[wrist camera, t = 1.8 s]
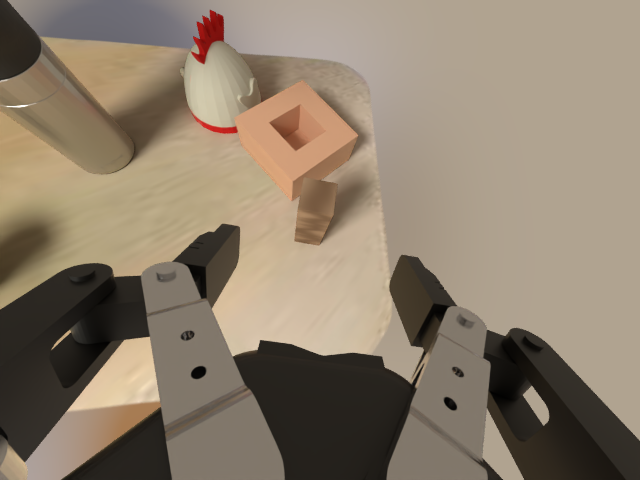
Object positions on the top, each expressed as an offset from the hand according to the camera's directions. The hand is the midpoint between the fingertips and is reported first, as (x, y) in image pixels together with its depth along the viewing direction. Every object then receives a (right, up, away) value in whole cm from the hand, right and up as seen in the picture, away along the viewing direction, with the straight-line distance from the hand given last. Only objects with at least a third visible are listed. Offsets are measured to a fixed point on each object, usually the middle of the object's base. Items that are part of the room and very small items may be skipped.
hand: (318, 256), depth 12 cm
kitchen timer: (-19, +28, +37) cm, 50 cm away
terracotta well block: (-5, +18, +36) cm, 40 cm away
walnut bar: (-2, +2, +31) cm, 31 cm away
